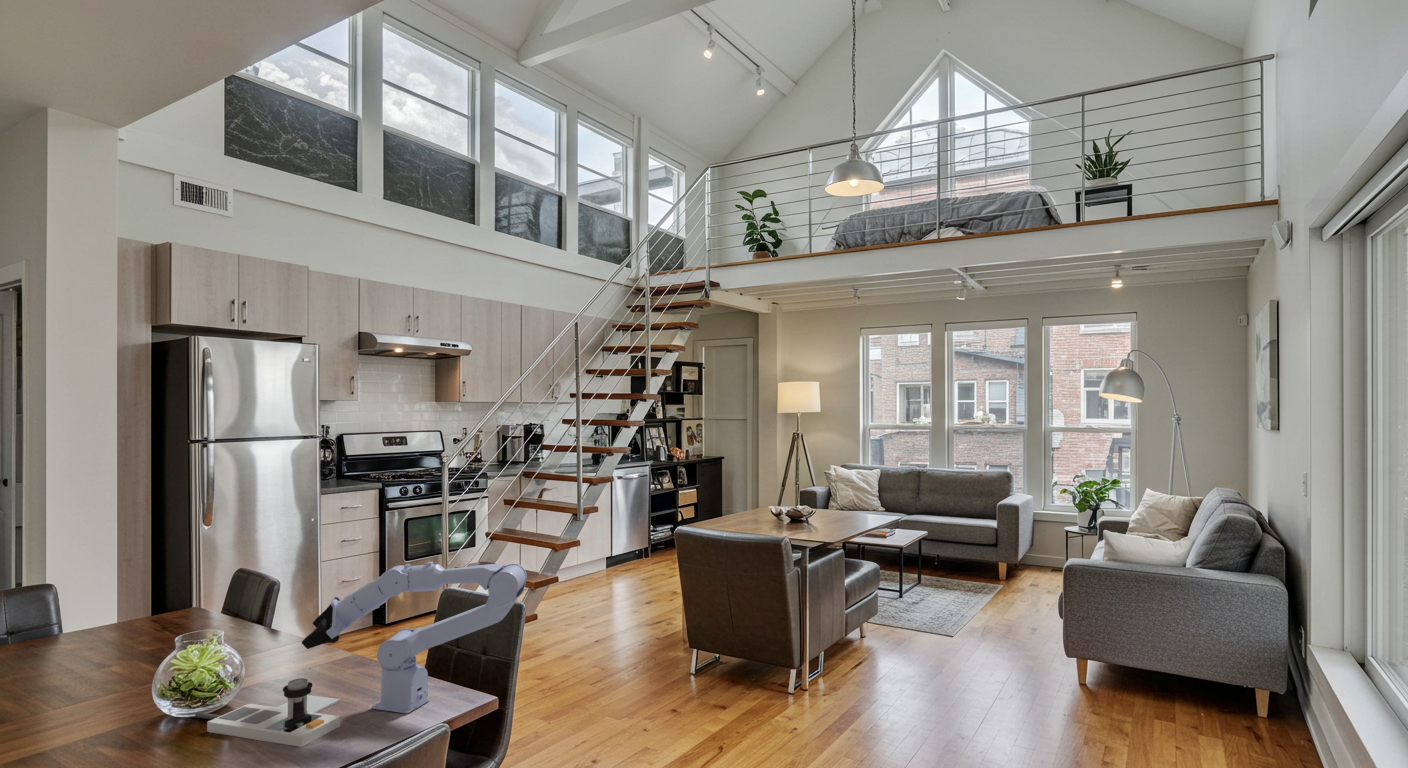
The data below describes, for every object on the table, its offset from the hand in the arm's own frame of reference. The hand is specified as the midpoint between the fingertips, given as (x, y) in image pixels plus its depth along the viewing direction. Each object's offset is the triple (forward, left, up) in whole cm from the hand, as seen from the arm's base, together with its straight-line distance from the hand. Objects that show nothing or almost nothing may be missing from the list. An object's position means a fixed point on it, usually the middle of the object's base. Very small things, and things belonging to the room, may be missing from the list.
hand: (310, 635), depth 167 cm
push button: (-8, +12, -16) cm, 21 cm away
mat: (0, +1, -15) cm, 15 cm away
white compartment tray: (+1, +12, -15) cm, 20 cm away
